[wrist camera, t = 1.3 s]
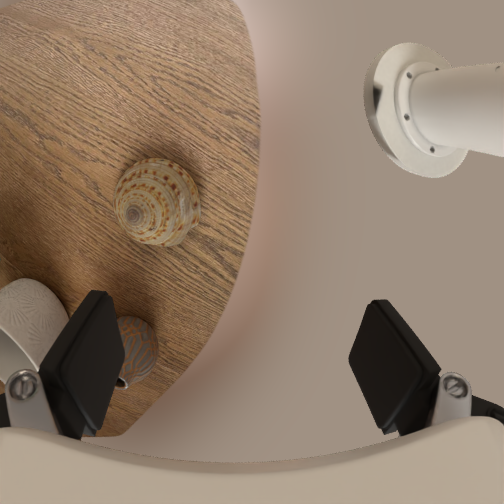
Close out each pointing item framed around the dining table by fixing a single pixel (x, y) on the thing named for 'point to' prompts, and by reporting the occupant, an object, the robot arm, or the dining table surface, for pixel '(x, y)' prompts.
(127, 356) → the vase
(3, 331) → the planter
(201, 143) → the dining table surface
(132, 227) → the seashell
